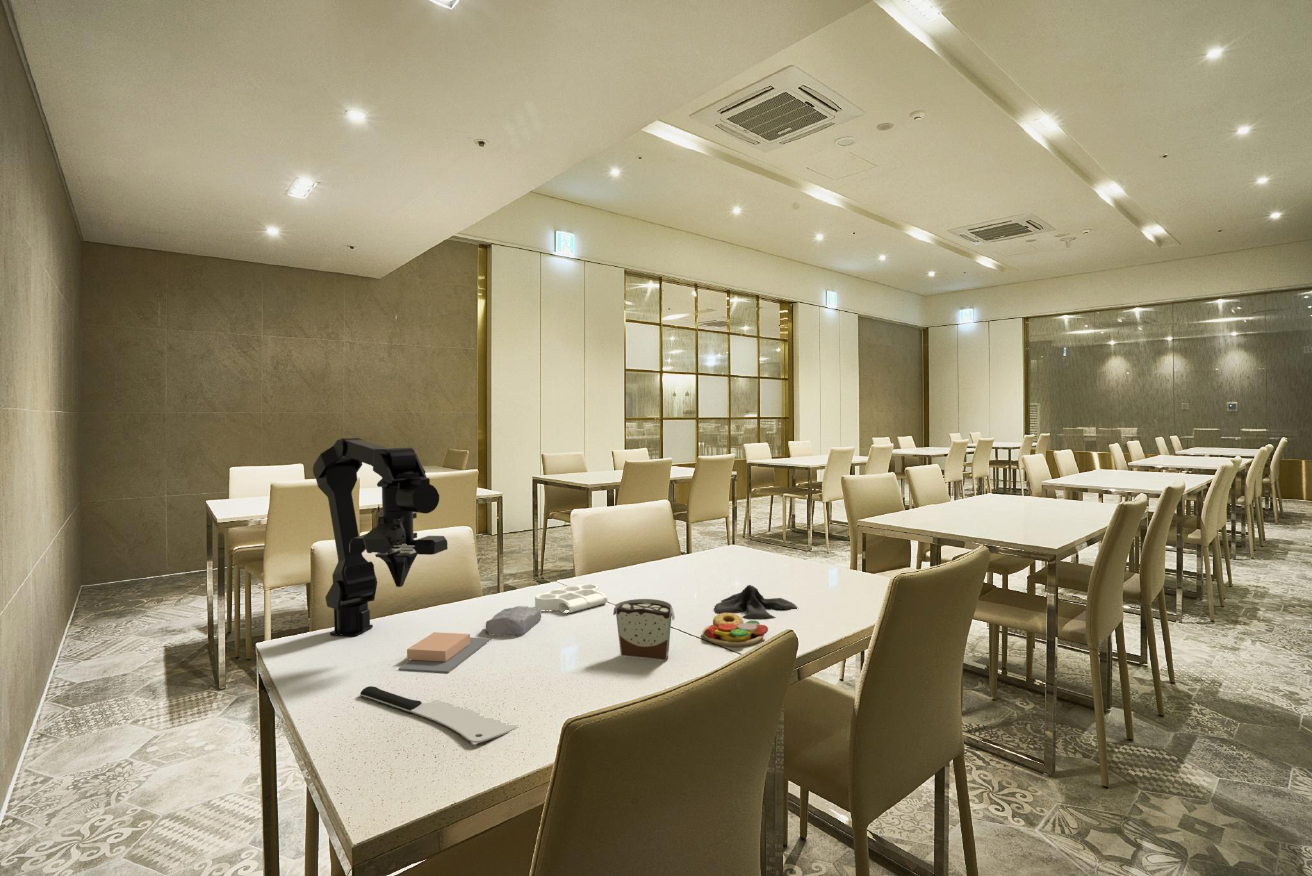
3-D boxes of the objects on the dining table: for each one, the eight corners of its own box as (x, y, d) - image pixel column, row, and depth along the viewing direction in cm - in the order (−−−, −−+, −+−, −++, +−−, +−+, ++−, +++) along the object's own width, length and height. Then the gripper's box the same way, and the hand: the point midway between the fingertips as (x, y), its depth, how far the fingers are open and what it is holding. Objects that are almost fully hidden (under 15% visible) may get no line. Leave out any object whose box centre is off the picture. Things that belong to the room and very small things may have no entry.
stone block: (483, 644, 139) (526, 636, 137) (479, 622, 139) (521, 614, 137) (505, 628, 150) (545, 621, 149) (501, 608, 151) (541, 600, 149)
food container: (683, 650, 127) (682, 600, 127) (674, 662, 121) (673, 609, 121) (625, 644, 131) (624, 596, 131) (613, 655, 125) (612, 604, 125)
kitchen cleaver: (530, 717, 98) (479, 737, 90) (529, 729, 98) (478, 750, 90) (403, 676, 115) (351, 690, 107) (402, 686, 115) (350, 701, 107)
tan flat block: (407, 649, 123) (445, 651, 122) (434, 632, 133) (469, 634, 132) (407, 660, 124) (445, 662, 122) (434, 642, 133) (470, 644, 132)
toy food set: (722, 624, 144) (722, 609, 144) (777, 634, 137) (776, 619, 137) (691, 641, 133) (690, 625, 133) (748, 653, 126) (748, 637, 126)
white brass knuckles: (558, 619, 150) (524, 607, 160) (617, 603, 162) (582, 593, 173) (558, 605, 150) (524, 594, 160) (617, 590, 162) (582, 581, 173)
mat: (398, 670, 119) (398, 668, 119) (447, 637, 137) (447, 636, 137) (448, 672, 118) (448, 671, 118) (491, 639, 135) (491, 638, 135)
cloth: (806, 606, 158) (805, 581, 158) (776, 626, 142) (775, 599, 142) (725, 594, 170) (724, 571, 170) (689, 611, 155) (689, 586, 155)
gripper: (329, 515, 123) (331, 595, 124) (417, 516, 120) (419, 599, 120) (365, 507, 134) (367, 581, 135) (447, 508, 131) (449, 584, 131)
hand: (399, 586), depth 130 cm, fingers closed
